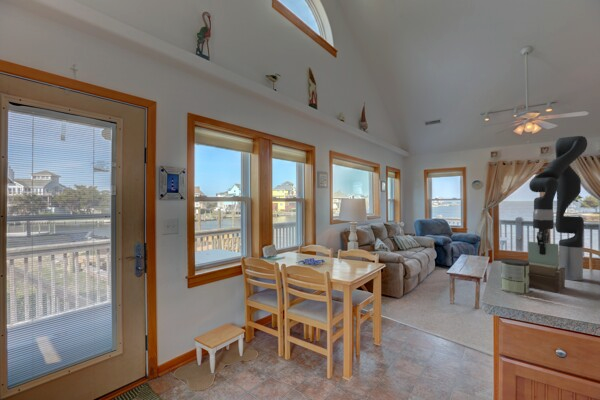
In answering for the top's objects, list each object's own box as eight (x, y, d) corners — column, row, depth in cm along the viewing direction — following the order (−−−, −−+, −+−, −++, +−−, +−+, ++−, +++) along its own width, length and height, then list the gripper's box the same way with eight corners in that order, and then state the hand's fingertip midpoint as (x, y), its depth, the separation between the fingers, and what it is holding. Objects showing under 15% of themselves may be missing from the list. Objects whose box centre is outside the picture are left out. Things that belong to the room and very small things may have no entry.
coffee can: (498, 286, 133) (498, 257, 133) (525, 289, 129) (525, 259, 129) (503, 293, 124) (504, 262, 124) (532, 296, 120) (533, 264, 120)
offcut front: (525, 283, 136) (525, 262, 136) (555, 289, 127) (555, 267, 127) (524, 283, 135) (525, 263, 135) (555, 289, 126) (555, 267, 126)
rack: (524, 281, 142) (524, 262, 142) (564, 289, 130) (564, 267, 130) (516, 286, 133) (516, 266, 133) (558, 295, 122) (558, 272, 121)
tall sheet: (528, 281, 139) (529, 241, 139) (558, 286, 131) (558, 244, 131) (528, 281, 139) (528, 241, 138) (557, 287, 130) (558, 244, 130)
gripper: (536, 217, 142) (536, 251, 142) (529, 218, 133) (529, 254, 133) (556, 218, 136) (556, 253, 136) (550, 219, 127) (550, 257, 127)
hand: (542, 254), depth 135 cm, fingers closed on tall sheet, 1 cm apart
